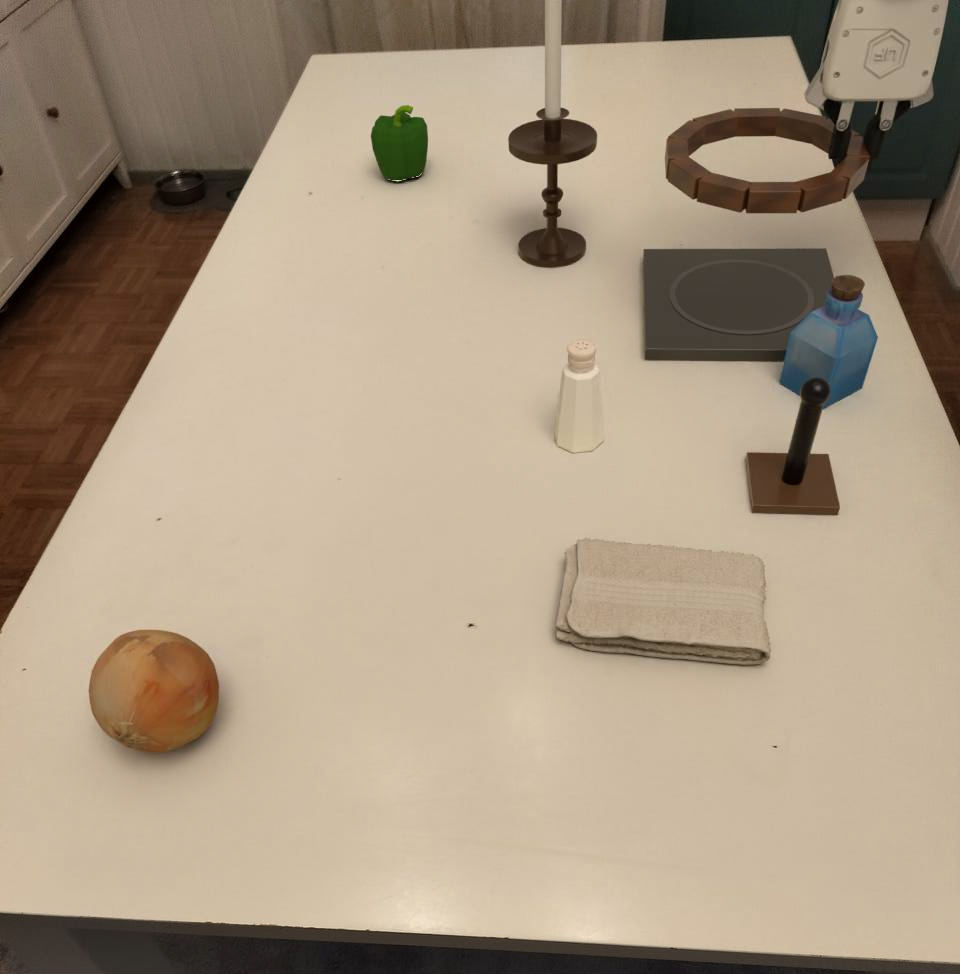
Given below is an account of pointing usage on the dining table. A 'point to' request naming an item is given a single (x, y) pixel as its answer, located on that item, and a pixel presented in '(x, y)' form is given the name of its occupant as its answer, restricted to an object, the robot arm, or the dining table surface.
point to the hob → (729, 301)
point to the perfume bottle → (832, 343)
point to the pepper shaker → (580, 401)
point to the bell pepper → (400, 144)
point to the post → (796, 465)
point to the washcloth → (664, 602)
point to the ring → (762, 194)
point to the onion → (154, 690)
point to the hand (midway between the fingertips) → (850, 163)
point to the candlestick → (552, 155)
